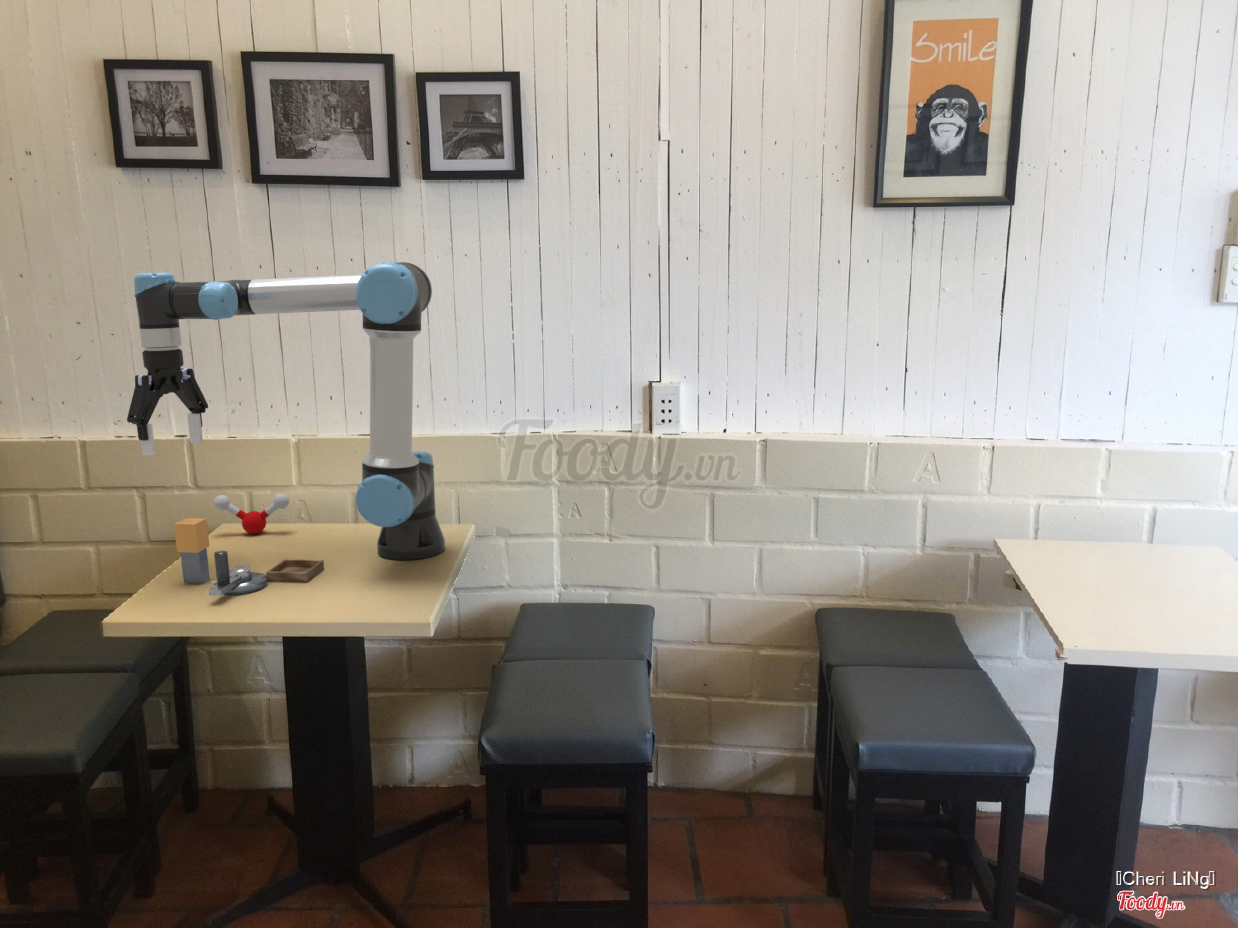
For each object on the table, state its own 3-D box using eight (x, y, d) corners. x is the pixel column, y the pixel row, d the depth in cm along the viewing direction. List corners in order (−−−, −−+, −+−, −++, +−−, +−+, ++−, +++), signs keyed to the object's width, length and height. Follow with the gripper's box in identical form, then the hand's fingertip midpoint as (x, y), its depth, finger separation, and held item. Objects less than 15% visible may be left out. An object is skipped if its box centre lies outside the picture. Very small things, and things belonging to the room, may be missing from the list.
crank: (235, 576, 194) (232, 539, 192) (256, 576, 193) (252, 539, 192) (204, 596, 182) (200, 557, 180) (226, 597, 181) (222, 558, 180)
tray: (324, 569, 202) (323, 560, 202) (307, 582, 194) (306, 573, 194) (285, 568, 203) (284, 559, 203) (266, 581, 195) (266, 572, 194)
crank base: (276, 579, 196) (275, 572, 196) (253, 596, 186) (252, 588, 186) (228, 578, 197) (227, 570, 197) (203, 594, 187) (202, 586, 187)
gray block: (209, 579, 196) (206, 547, 195) (202, 583, 194) (198, 551, 192) (191, 578, 197) (188, 546, 195) (183, 583, 194) (180, 551, 192)
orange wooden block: (209, 546, 196) (206, 518, 194) (197, 552, 191) (194, 524, 190) (189, 545, 196) (186, 517, 195) (177, 552, 192) (173, 523, 190)
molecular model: (214, 539, 225) (210, 499, 223) (219, 532, 230) (215, 493, 228) (291, 534, 228) (287, 494, 226) (293, 528, 234) (290, 489, 232)
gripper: (190, 343, 207) (201, 437, 211) (98, 354, 184) (112, 460, 188) (219, 343, 205) (228, 439, 209) (129, 354, 182) (142, 461, 186)
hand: (173, 449), depth 199 cm, fingers open, 13 cm apart
